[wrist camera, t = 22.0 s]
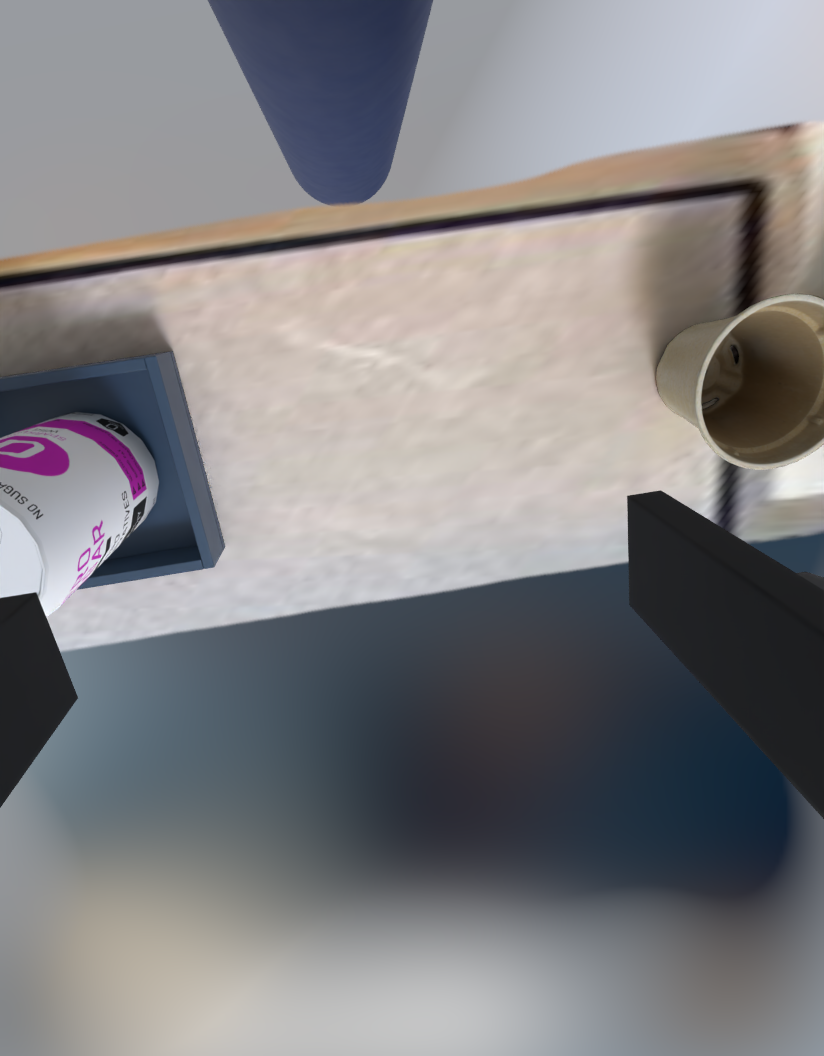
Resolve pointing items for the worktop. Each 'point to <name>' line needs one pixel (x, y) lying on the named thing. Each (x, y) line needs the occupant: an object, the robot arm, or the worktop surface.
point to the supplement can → (68, 502)
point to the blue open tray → (166, 430)
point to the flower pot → (752, 381)
